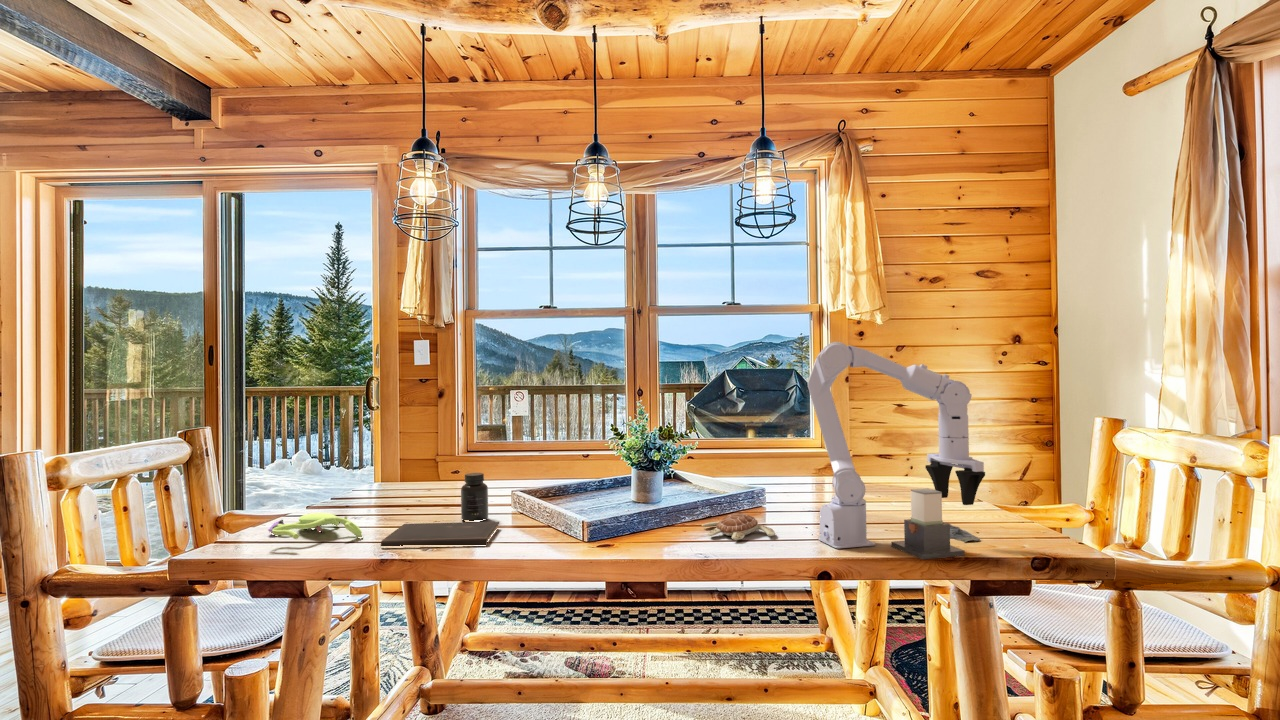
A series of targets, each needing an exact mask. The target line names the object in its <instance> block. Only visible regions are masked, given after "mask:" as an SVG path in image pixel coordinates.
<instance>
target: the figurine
mask: <svg viewBox="0 0 1280 720" xmlns="http://www.w3.org/2000/svg"><path fill="white" fill-rule="evenodd" d="M339 522H340V523H339ZM333 524H334V525H336V526H335V527H338V526H337V525H339V524H343V525H344V528H345V529H346V530H347V531H348V532H350V533H352V534H354V536H356V538H357V537H362V536H363V534H362V529H361V528H360V526H359V525H357V524H355V523H354V522H353V521H350V520H349V519H348V516H346V515H345V516H344V517H339V516H337V515H335V514H332V513H328V512H313V513H307V514H303V515H301V516H300V517H299V518H298V521H297V522H293V523H286V524H285V523H284V519H280V520H278V521H276V522H274V523H272V525H271V526H270V527H269V529H267V531H268V532H269V533H270V532H271V533H273V534H274V535H279V536H289V537H290V538H293V539H294V540H298V539H299V538H300V534H298V533H297V532H295V531H294V530H303V529H307V530H309V529H311V528H317V529H316V531H317V532H318V531H321V530H322V531H323V529H322V528H321V526H328V525H333ZM334 525H333V526H334ZM339 526H340V525H339ZM308 528H309V529H308Z"/></svg>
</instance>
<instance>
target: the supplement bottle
mask: <svg viewBox="0 0 1280 720" xmlns="http://www.w3.org/2000/svg"><path fill="white" fill-rule="evenodd" d="M484 481H485V477H484V473H483V472H471V473H469V472H468V473H465V474H464V482H465V483H464V484H463V485H462V486H461V489H460V503H461V504H460V512H461V513H460V515H461V516H460V517H461V520H462V519H463V520H469V521H474V520H483V519H487V518H489V488H488V485H487V484H486V483H484ZM487 520H488V519H487Z"/></svg>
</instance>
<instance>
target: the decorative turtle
mask: <svg viewBox="0 0 1280 720" xmlns="http://www.w3.org/2000/svg"><path fill="white" fill-rule="evenodd" d="M701 526H702V527H703V528H706V527H716V528H713V529H711V530H710V531H708V533H707V535H708V536H709V537H713V536H715V535H718V534H720V533H722V534H724V535H726V536H729V537H730V536H731V539H732V540H734V541H735V540H736V541H738V540H741V539H744V538H745V536H748V535H750V534H752V533H754V532H755V531H756V530H761V531H763V532H764V533H765V534H766V535H767V536H768V537H773V536H775V535H776V532H775V530H773V528H770V527H768V526H765V525H763V524H760V523H758V520H757V519H756V518H755V517H754V516H753V515H749V514H747V513H742V512H734V513H731V514H728V515H726V516H725V517H724V518H722V519H721V520H716V521H710V522H706V523H703V524H701Z"/></svg>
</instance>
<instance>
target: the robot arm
mask: <svg viewBox="0 0 1280 720" xmlns="http://www.w3.org/2000/svg"><path fill="white" fill-rule="evenodd" d="M848 367H850V368H867V369H870V370H873V371H875V372H877V373H881V374H883V375H885V376H888V377H891V378H893V379H896V380H899V381H900V383H901V386H902V387H903V389H904V390H906V391H909V392H912V393H914V394H917V395H919V396H921V397H924V398H926V399H928V400H931V401H934V400H935V401H936V402H937V403H938V419H937V420H938V421H937V422H938V453H933V452H932V453H931V452H930V453H926V458H927V461H926V462H927V463H930V464H925V470H926V471H927V473H928V475H929V476H930V478H931V481H932V484H933V487H934V490H936V491H940V492H942V499H947V498H948V497H949V487H950V477H951V473H952V470H953V468H958V469H960V470H955V474H956V476H957V480H958V483H959V487H960V495H961V502H962V505H963V506H971V505H973V506H974V503H975V499H976V495H977V491H978V489H979V487H980V485H981V482H982V480H984V477H985V476H986V472H985V471H984V470H985V467H984V465H985V463H984V461H981V460H977V459H974V458H973V457H972V456H970V449H969V448H970V447H969V446H970V442H969V441H970V440H969V439H970V438H969V415H968V404H969V403H970V402H971V400H972V397H973V396H972V393H971V392H970V389H969V387H968V386H967V385H966V384H965V383H964V382H963V381H959V380H954V379H951V378H950V375H949V374H946V373H943V375H942V374H941V373H938V372H936V371H933V370H932V369H931V370H930V369H928V365H925V364H922V363H921V364H920V365H918V364H912V365H909V366H907V367H906V366H904V365H902V364H899V363H897V362H896V361H893V360H890V359H889V358H887V357H883V356H881V355H879V354H877V353H876V352H875V353H874V352H872V351H870V350H868V349H865V348H861V347H857V346H853V345H846V344H845V343H844V342H839V341H834V342H833V341H832V342H831V343H828V344H826V345H825V346H824V347H823V348H822V349H821V350H820V352H819V353H818V354H817V356H816V358H815V360H814V364H813V366H812V370H811V372H810V375H809V378H808V379H807V380H808V381H807V388H808V392H809V395H810V399H811V402H812V405H813V408H814V410H815V415H816V418H817V421H818V424H819V428H820V432H821V435H822V439H823V441H824V445H825V448H826V452H827V455H828V459H829V461H830V462H829V463H830V465H831V468H832V473H833V477H832V487H833V489H834V495H833V496H832V497H831V501H830V502H828V503H824V504H823V505H821V507H820V510H819V537H818V538H817V539H818V541H820V542H822V543H824V544H826V545H828V546H830V547H833V548H835V549H849V548H851V549H852V548H859V547H872V546H876V542H874V541H871V540H869V539H868V537H867V535H868V534H867V533H868V532H867V500H866V499H864V497H865V495H866V485H865V483H864V482H863V479H861V476H860V475H859V473H858V472H857V471H856V469H855V466H854V465H855V464H854V462H853V460H852V457H851V453H850V451H849V447H848V444H847V440H846V438H845V434H844V430H843V428H842V427H843V426H842V424H841V421H840V417H839V414H838V412H837V411H838V410H837V406H836V405H835V402H834V398H833V394H832V391H831V387H832V385H833V384H834V382H835V381H836V379H837V377H838V376H839V375H840V374H841V373H842V372H843V371H845V370H846V369H847V368H848Z"/></svg>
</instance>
